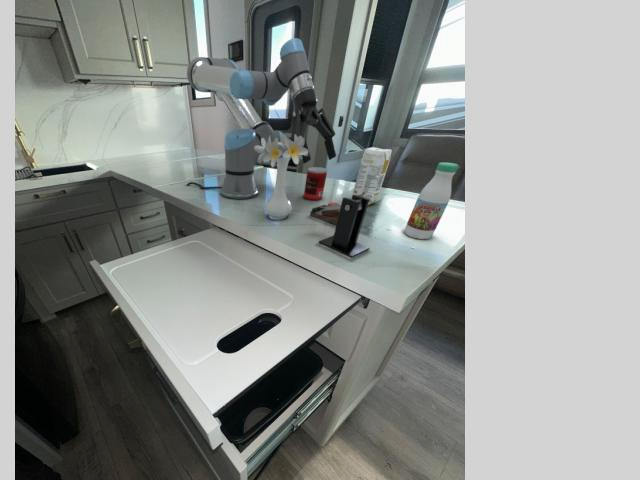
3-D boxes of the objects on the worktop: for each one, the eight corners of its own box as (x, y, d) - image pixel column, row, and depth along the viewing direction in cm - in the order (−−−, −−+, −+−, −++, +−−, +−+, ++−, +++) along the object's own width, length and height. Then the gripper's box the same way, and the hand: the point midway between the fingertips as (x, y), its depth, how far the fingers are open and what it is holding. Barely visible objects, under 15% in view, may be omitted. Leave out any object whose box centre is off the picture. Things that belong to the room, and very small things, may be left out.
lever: (312, 215, 76) (311, 206, 75) (323, 211, 78) (322, 203, 78) (353, 212, 66) (353, 201, 65) (365, 208, 68) (365, 198, 67)
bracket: (318, 245, 76) (328, 195, 68) (335, 238, 80) (347, 190, 72) (351, 260, 69) (367, 207, 61) (368, 251, 73) (385, 201, 65)
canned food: (320, 195, 114) (325, 167, 107) (323, 201, 108) (329, 171, 101) (302, 194, 115) (306, 166, 108) (304, 200, 108) (308, 171, 102)
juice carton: (368, 207, 102) (384, 151, 91) (348, 201, 108) (362, 148, 96) (377, 203, 106) (395, 149, 95) (358, 198, 111) (373, 146, 100)
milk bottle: (402, 228, 87) (430, 160, 74) (429, 231, 84) (462, 162, 72) (404, 237, 81) (435, 165, 69) (433, 241, 79) (470, 168, 66)
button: (324, 208, 90) (326, 203, 89) (331, 206, 92) (332, 201, 91) (333, 211, 88) (334, 206, 87) (340, 209, 90) (341, 204, 88)
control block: (309, 217, 93) (311, 206, 91) (325, 212, 98) (328, 201, 95) (335, 227, 86) (338, 215, 84) (351, 221, 91) (354, 209, 88)
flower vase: (264, 206, 102) (269, 129, 87) (307, 218, 93) (321, 134, 77) (243, 215, 94) (244, 133, 79) (287, 229, 85) (298, 138, 69)
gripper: (284, 85, 79) (303, 157, 82) (335, 88, 91) (351, 151, 95) (268, 102, 86) (287, 168, 89) (318, 103, 98) (333, 161, 101)
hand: (320, 159), depth 92 cm, fingers open, 13 cm apart
